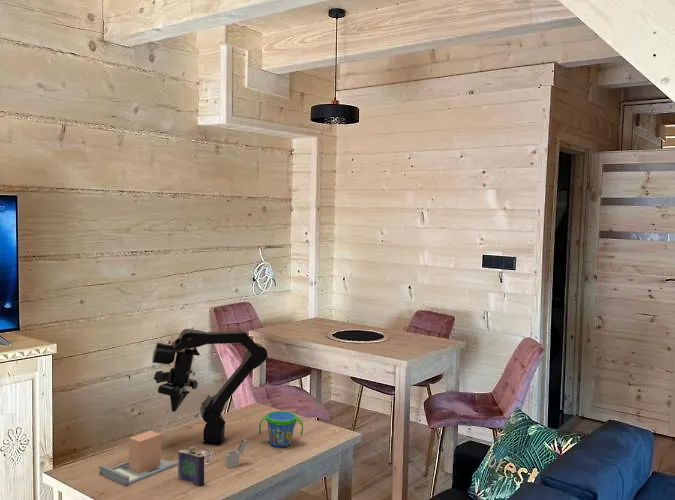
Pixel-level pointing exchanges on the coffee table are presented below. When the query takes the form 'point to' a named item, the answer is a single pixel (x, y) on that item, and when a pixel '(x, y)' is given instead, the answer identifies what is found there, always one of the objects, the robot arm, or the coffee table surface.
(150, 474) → the slate lane
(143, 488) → the coffee table surface
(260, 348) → the robot arm
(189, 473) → the flask
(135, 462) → the terracotta block
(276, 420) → the snack cup
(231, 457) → the lighter
